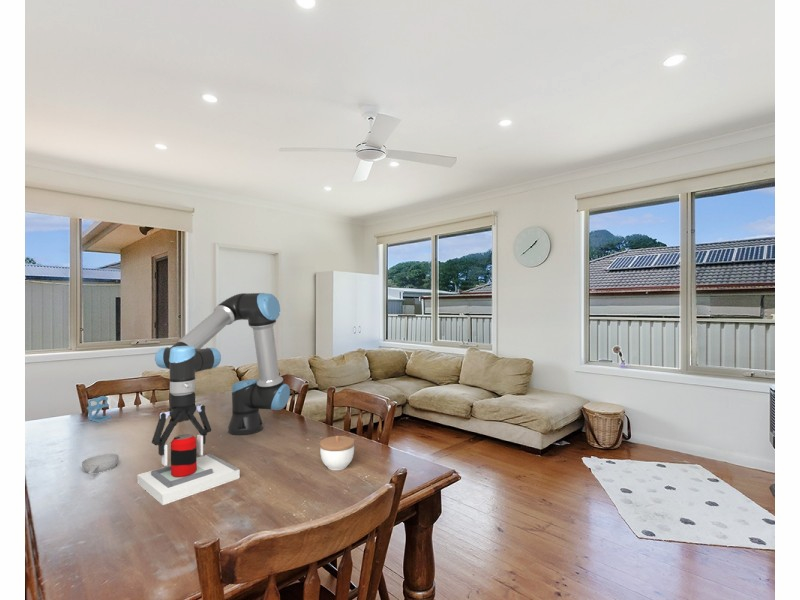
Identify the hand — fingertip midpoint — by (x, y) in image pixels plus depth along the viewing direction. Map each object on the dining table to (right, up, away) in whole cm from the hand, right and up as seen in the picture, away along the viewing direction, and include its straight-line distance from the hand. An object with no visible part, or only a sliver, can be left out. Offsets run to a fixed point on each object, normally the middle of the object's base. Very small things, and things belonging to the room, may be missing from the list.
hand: (182, 459), depth 136 cm
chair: (-82, -8, +73) cm, 110 cm away
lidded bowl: (+49, -8, +13) cm, 52 cm away
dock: (+1, -8, +1) cm, 8 cm away
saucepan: (-35, -8, +9) cm, 37 cm away
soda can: (0, -5, 0) cm, 5 cm away
